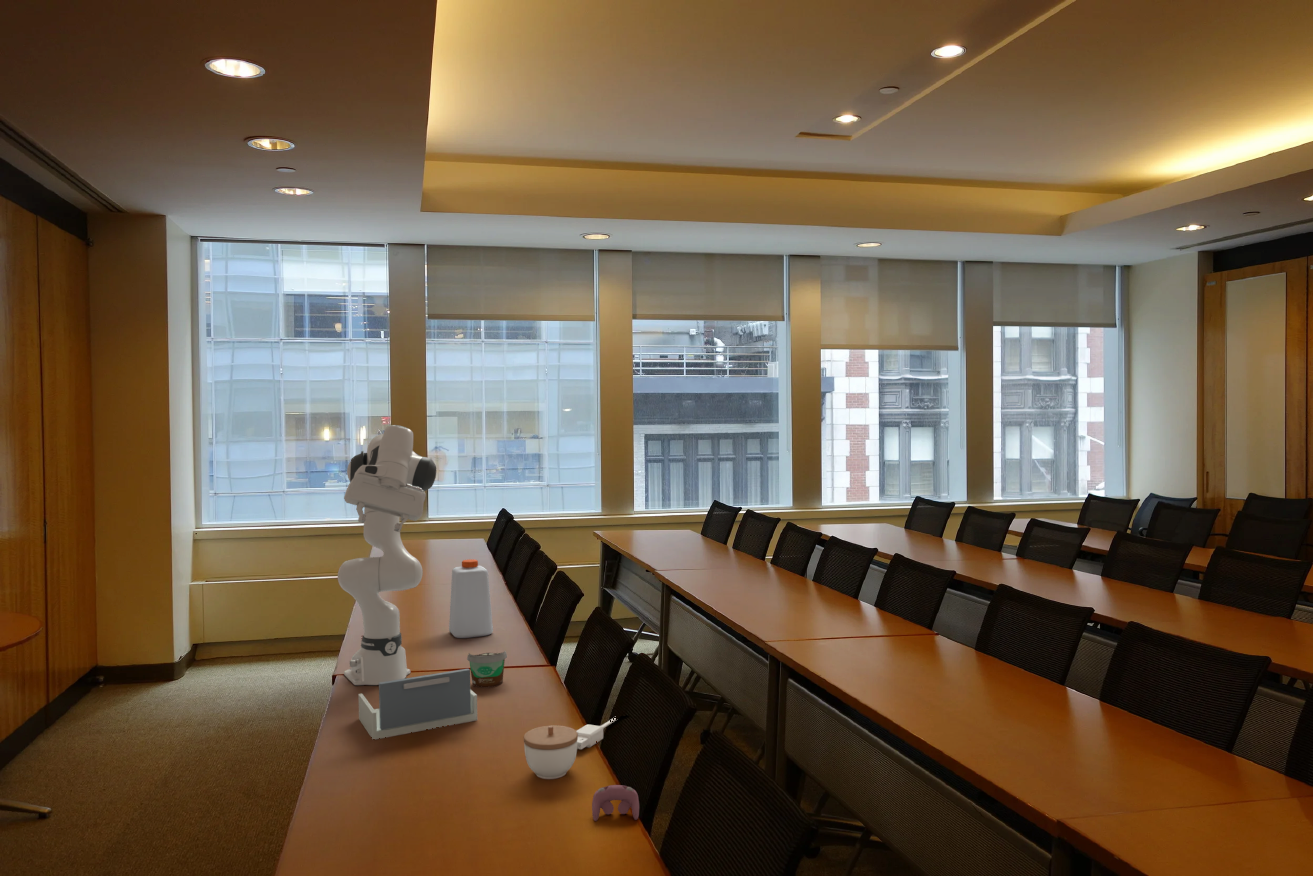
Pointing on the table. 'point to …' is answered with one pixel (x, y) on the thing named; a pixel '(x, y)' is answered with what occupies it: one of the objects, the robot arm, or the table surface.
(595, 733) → the charging cable
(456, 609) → the plastic bottle
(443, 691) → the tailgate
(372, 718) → the tray
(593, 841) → the table surface
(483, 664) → the food container
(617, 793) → the video game controller
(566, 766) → the lidded bowl
